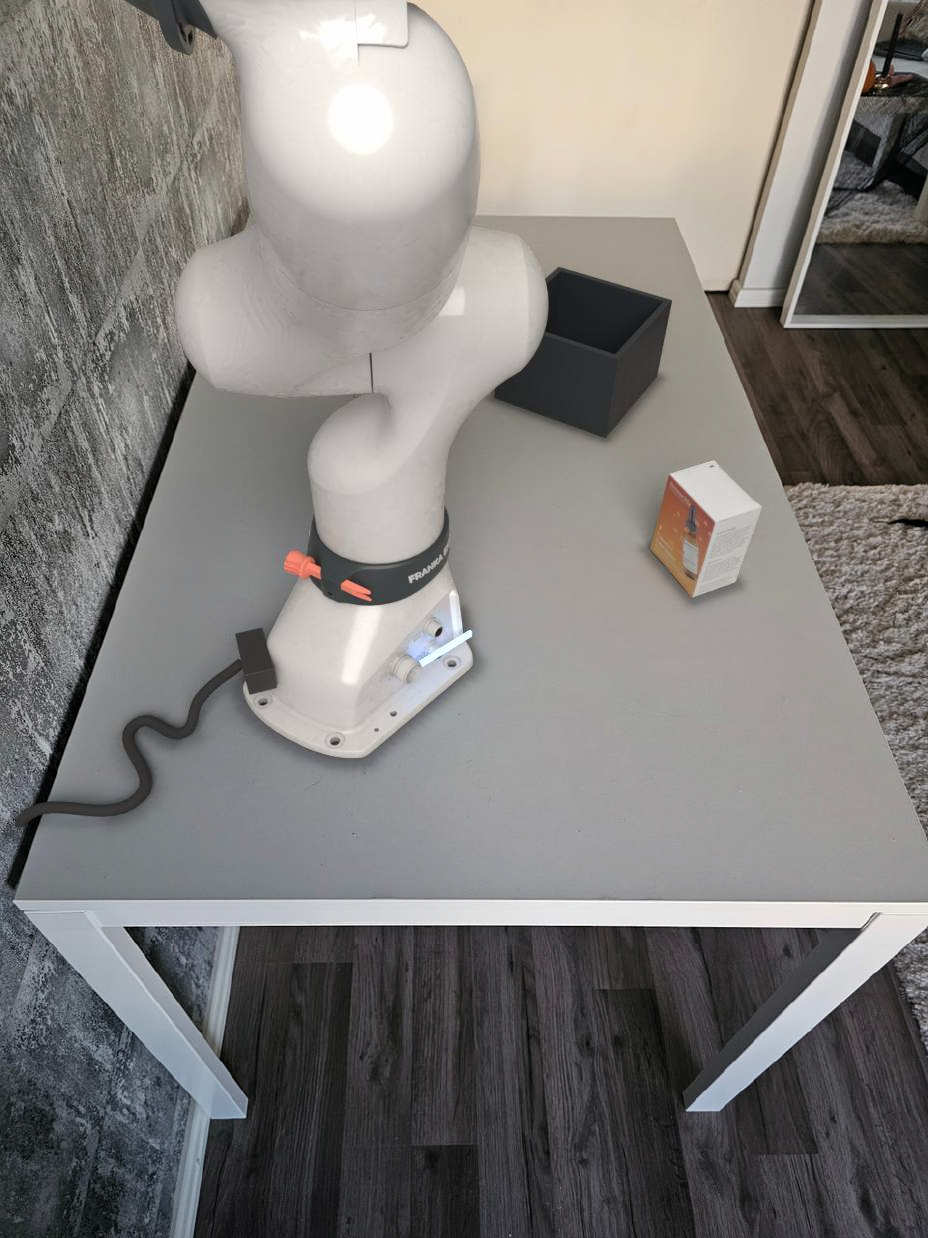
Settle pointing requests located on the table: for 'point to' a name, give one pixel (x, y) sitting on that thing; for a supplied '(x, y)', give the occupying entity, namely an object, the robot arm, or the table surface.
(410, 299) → the robot arm
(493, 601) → the table surface
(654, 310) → the trash bin
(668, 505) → the small box
